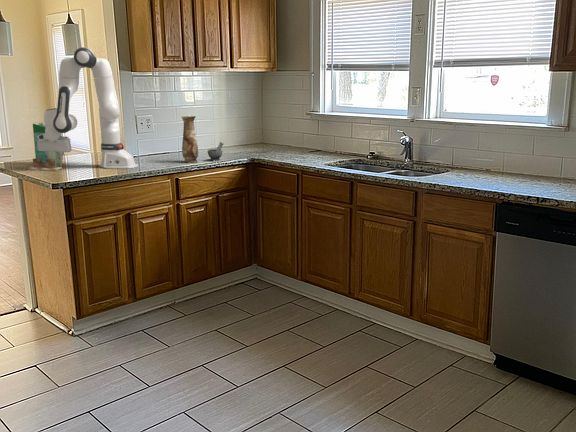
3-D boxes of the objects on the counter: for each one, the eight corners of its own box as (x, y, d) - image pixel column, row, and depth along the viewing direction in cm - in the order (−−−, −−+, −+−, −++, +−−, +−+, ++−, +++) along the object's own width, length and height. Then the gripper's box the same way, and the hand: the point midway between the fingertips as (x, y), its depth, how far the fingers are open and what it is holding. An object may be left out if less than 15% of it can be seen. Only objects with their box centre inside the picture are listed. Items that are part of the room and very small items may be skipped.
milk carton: (49, 165, 350) (45, 123, 344) (36, 164, 351) (32, 123, 345) (57, 163, 358) (54, 122, 352) (45, 162, 360) (41, 122, 354)
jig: (62, 168, 337) (61, 158, 335) (55, 170, 330) (54, 160, 329) (33, 167, 339) (32, 157, 338) (26, 169, 332) (25, 159, 331)
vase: (200, 162, 369) (199, 115, 362) (184, 163, 364) (183, 116, 357) (195, 160, 378) (194, 114, 371) (179, 161, 373) (178, 115, 366)
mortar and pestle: (211, 161, 374) (211, 143, 371) (205, 160, 382) (205, 142, 379) (226, 160, 380) (226, 142, 377) (220, 158, 388) (220, 141, 385)
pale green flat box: (57, 165, 348) (56, 149, 345) (62, 165, 347) (61, 149, 345) (49, 168, 339) (48, 151, 337) (54, 168, 338) (52, 151, 336)
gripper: (72, 136, 340) (74, 159, 343) (40, 135, 343) (42, 157, 346) (67, 137, 334) (68, 160, 337) (34, 136, 337) (36, 159, 340)
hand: (55, 159), depth 342 cm, fingers open, 6 cm apart
